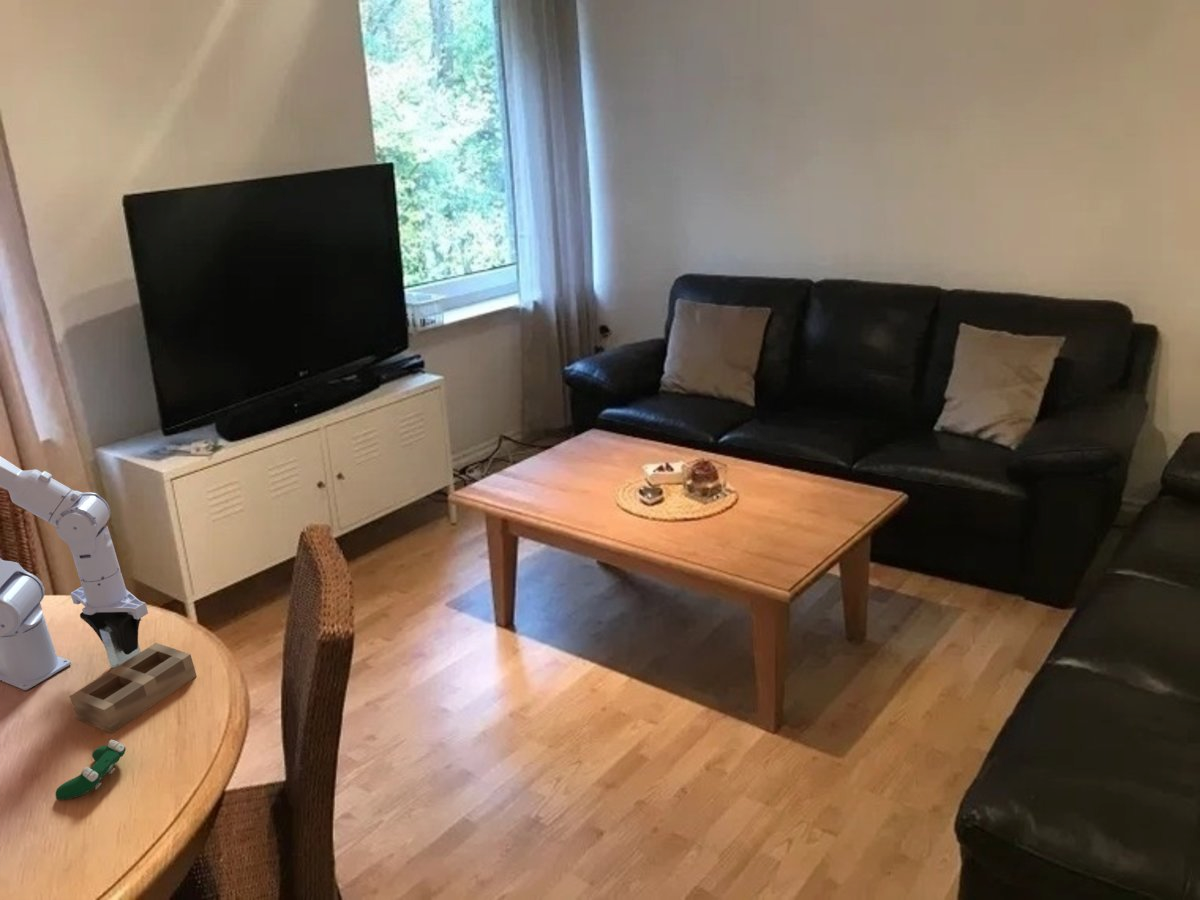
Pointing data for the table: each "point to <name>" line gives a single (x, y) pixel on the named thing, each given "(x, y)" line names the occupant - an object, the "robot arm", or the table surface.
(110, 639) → the white rectangular pillar
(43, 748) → the table surface
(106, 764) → the green elongated piece
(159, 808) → the table surface
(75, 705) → the tan divided tray
